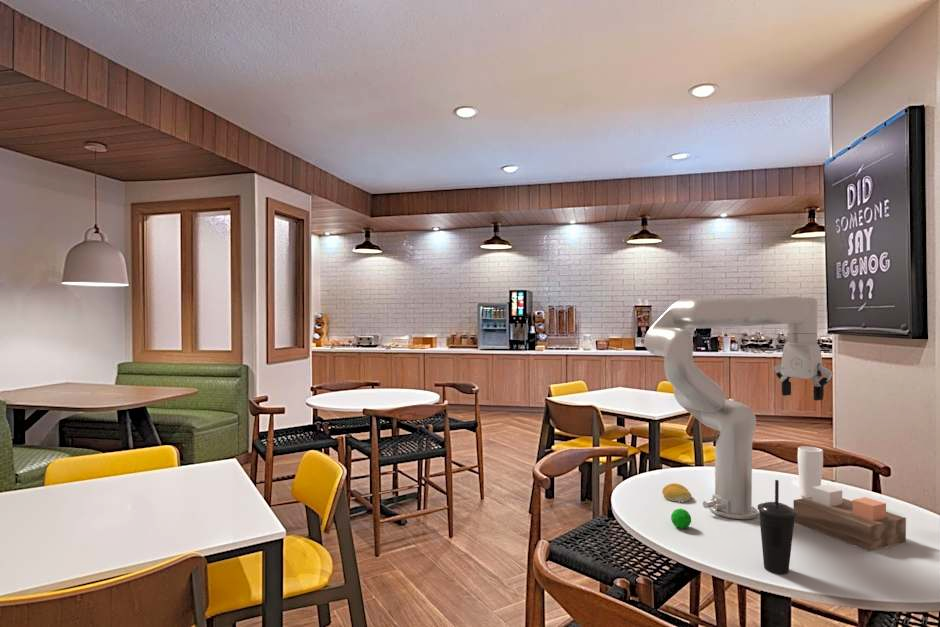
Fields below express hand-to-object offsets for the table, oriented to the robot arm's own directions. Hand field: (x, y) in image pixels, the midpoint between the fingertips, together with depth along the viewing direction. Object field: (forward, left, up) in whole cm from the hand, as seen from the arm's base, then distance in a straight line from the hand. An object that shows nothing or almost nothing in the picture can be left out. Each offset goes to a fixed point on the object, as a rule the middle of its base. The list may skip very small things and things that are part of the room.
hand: (801, 397), depth 166 cm
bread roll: (-28, +21, -33) cm, 48 cm away
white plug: (-6, -12, -27) cm, 30 cm away
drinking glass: (+10, +5, -32) cm, 34 cm away
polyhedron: (-44, +2, -32) cm, 55 cm away
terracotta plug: (-6, -23, -26) cm, 36 cm away
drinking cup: (-42, -25, -32) cm, 59 cm away
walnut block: (-6, -17, -32) cm, 37 cm away
